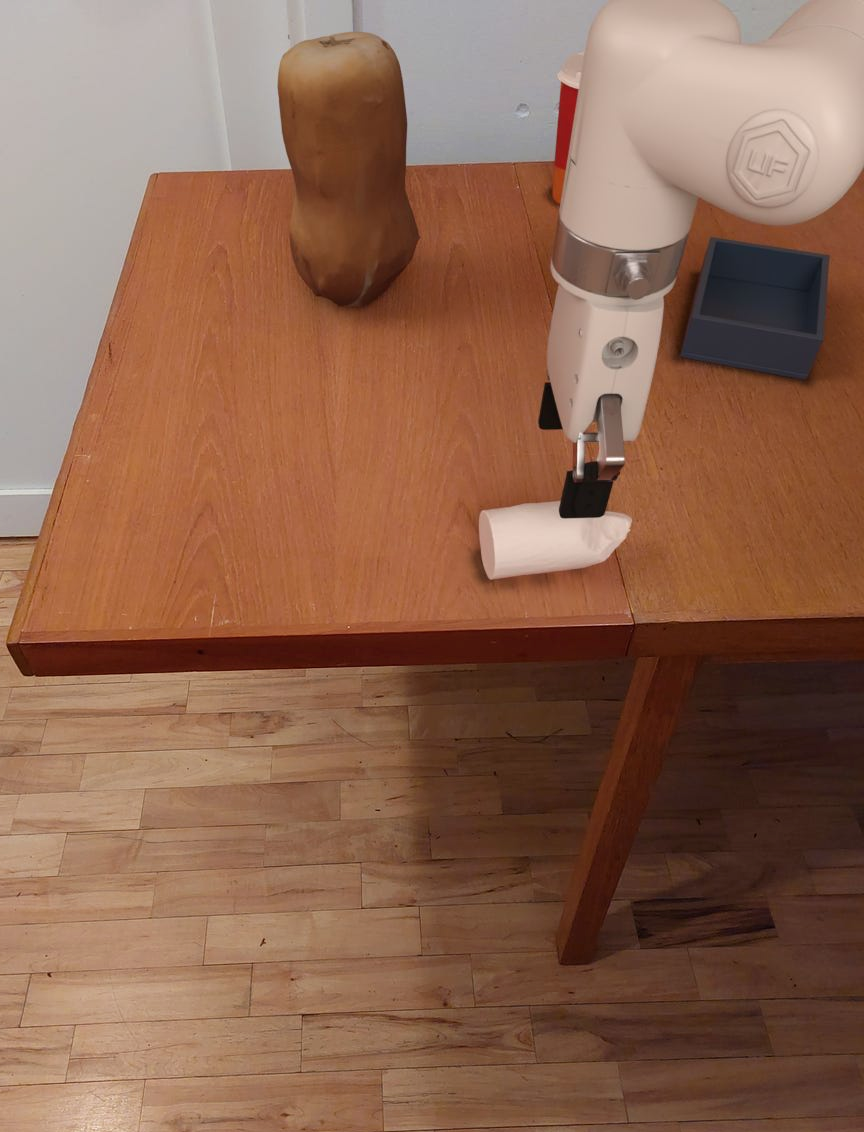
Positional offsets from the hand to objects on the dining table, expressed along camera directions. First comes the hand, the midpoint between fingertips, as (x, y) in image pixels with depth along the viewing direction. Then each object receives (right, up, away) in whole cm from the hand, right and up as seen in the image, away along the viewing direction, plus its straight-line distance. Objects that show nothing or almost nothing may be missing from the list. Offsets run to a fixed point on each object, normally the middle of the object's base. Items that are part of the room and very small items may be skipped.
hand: (569, 469), depth 66 cm
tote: (+25, +21, +28) cm, 43 cm away
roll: (0, -6, +8) cm, 10 cm away
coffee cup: (+10, +43, +46) cm, 64 cm away
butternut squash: (-17, +25, +32) cm, 44 cm away
